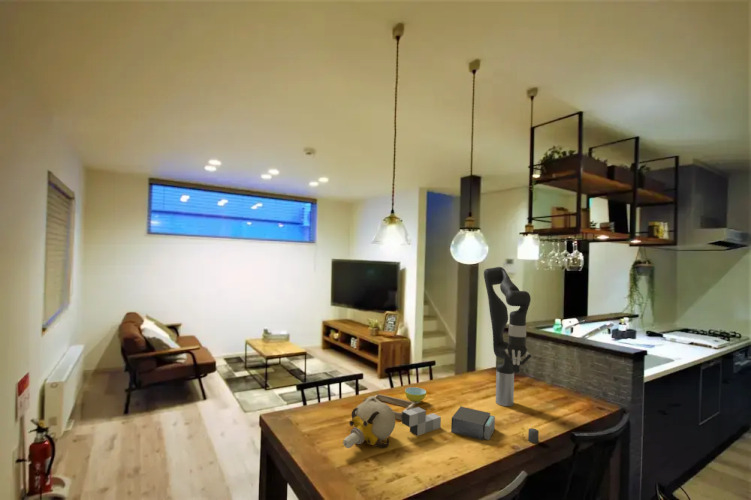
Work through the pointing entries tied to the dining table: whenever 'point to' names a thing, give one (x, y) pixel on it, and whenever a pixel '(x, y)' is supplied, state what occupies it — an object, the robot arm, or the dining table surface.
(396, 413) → the serving frame
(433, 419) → the block
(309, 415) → the dining table surface
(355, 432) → the decorative object
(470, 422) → the housing
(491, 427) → the tray
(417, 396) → the bowl
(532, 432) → the capsule
